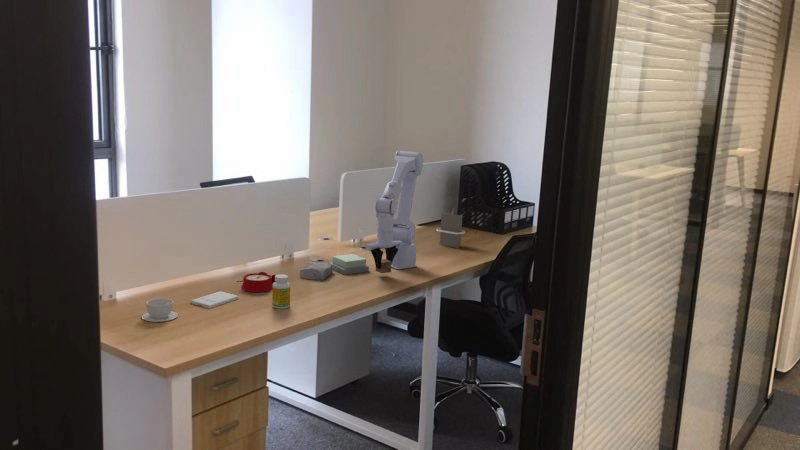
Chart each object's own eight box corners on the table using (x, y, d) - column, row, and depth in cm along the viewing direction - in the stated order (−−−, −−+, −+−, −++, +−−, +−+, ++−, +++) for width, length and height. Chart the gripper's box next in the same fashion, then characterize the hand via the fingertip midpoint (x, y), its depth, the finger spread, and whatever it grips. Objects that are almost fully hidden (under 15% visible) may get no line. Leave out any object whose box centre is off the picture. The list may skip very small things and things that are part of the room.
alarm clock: (232, 278, 239) (263, 260, 250) (235, 295, 241) (265, 277, 253) (255, 285, 234) (286, 266, 245) (258, 302, 236) (288, 282, 247)
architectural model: (435, 238, 332) (437, 206, 329) (485, 247, 320) (488, 214, 317) (414, 245, 315) (416, 212, 312) (466, 255, 303) (469, 221, 300)
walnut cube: (384, 269, 266) (385, 258, 265) (390, 272, 263) (391, 261, 262) (375, 270, 264) (376, 260, 263) (381, 273, 261) (382, 262, 260)
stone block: (298, 283, 257) (325, 280, 255) (296, 270, 256) (323, 267, 254) (309, 275, 269) (334, 273, 267) (306, 263, 268) (332, 260, 266)
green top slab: (352, 260, 277) (352, 253, 277) (365, 265, 270) (366, 259, 270) (332, 262, 272) (332, 256, 271) (345, 268, 265) (345, 261, 265)
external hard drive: (238, 300, 230) (209, 310, 220) (219, 295, 234) (190, 304, 224) (238, 295, 230) (209, 305, 219) (219, 290, 234) (190, 299, 223)
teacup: (182, 320, 209) (182, 304, 208) (146, 325, 203) (146, 309, 202) (172, 310, 217) (172, 295, 216) (137, 314, 211) (137, 299, 210)
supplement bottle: (279, 310, 221) (280, 279, 219) (268, 305, 225) (269, 275, 223) (293, 306, 225) (294, 276, 223) (282, 302, 229) (283, 272, 227)
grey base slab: (352, 265, 279) (353, 259, 279) (368, 272, 270) (368, 266, 270) (328, 269, 273) (328, 262, 272) (343, 276, 264) (343, 269, 263)
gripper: (374, 235, 253) (372, 272, 256) (407, 231, 262) (406, 267, 264) (363, 230, 259) (361, 267, 261) (396, 227, 267) (394, 263, 270)
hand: (383, 267), depth 263 cm, fingers closed on walnut cube, 4 cm apart
